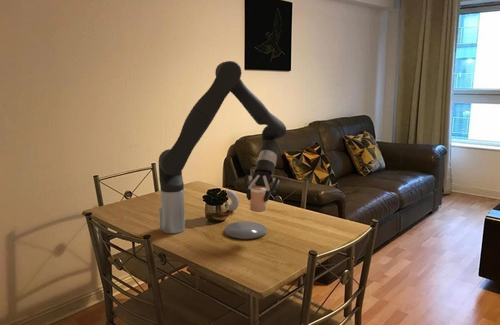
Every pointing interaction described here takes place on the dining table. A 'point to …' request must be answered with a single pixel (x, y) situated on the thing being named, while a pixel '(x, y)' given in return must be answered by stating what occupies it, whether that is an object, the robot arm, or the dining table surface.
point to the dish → (245, 230)
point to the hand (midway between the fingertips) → (256, 200)
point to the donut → (234, 200)
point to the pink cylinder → (257, 198)
